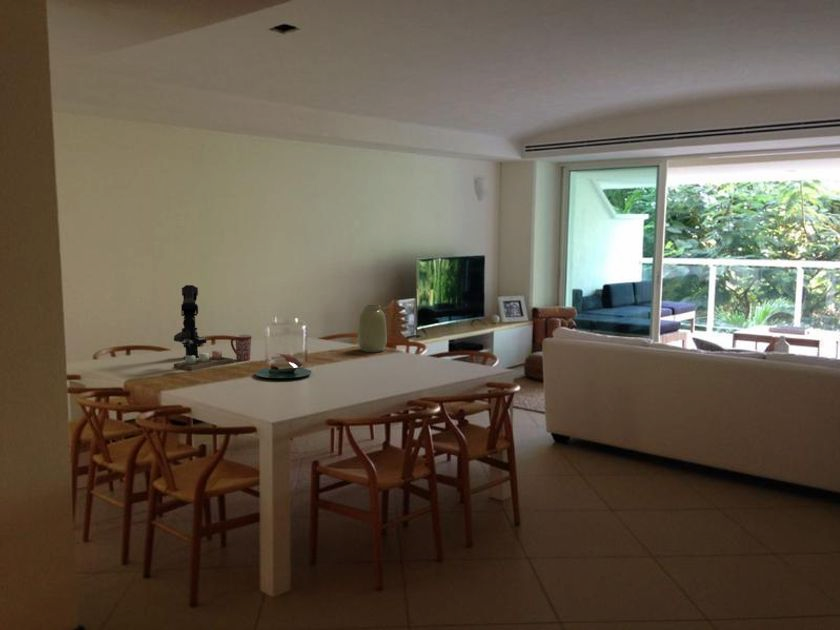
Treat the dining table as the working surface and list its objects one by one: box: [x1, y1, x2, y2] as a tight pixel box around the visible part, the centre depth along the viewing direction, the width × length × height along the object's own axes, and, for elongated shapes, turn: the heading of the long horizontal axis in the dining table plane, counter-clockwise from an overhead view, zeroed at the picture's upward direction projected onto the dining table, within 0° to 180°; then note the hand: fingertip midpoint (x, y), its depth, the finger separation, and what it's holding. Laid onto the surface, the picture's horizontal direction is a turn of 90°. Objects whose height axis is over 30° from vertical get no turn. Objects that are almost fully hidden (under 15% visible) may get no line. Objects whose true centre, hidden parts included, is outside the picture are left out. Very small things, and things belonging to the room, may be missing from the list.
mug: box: [230, 334, 252, 362], centre depth 405 cm, size 13×9×14 cm
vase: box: [357, 304, 388, 353], centre depth 440 cm, size 17×17×27 cm
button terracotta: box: [211, 350, 223, 360], centre depth 396 cm, size 5×5×4 cm
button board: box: [173, 356, 234, 371], centre depth 389 cm, size 14×28×2 cm, turn 148°
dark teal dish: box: [254, 353, 312, 379], centre depth 365 cm, size 28×28×11 cm
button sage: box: [184, 355, 197, 365], centre depth 381 cm, size 5×5×4 cm
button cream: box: [198, 352, 210, 362], centre depth 389 cm, size 5×5×4 cm
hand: (190, 355), depth 381 cm, fingers closed
